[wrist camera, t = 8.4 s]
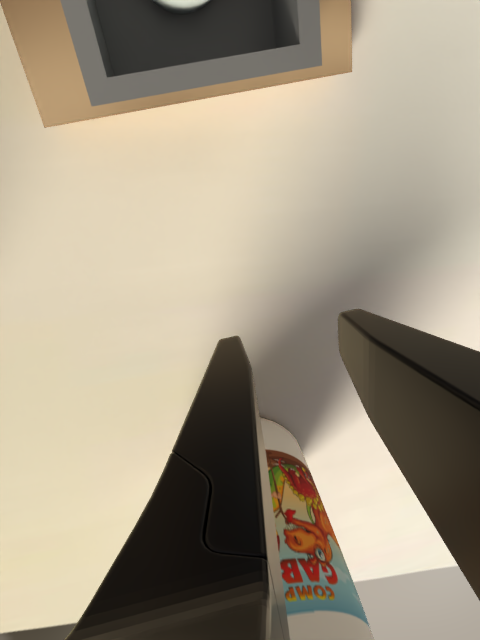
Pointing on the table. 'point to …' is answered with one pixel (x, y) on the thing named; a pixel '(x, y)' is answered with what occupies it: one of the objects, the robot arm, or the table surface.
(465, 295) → the table surface
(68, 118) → the wooden l-shaped stand
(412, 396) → the robot arm
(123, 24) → the tray
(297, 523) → the milk bottle
